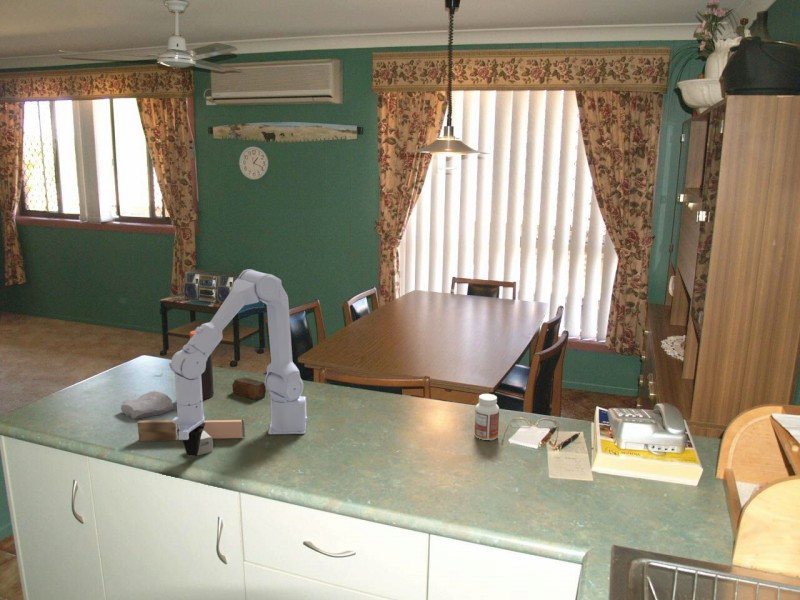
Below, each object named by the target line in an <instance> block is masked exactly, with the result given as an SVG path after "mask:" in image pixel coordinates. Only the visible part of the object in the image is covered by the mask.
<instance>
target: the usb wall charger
mask: <svg viewBox="0 0 800 600" xmlns="http://www.w3.org/2000/svg"><path fill="white" fill-rule="evenodd" d="M213 443H214V441H213V438H212V437H211V436H209V435H208V434H207V433H206V432H205V431H202V435H201V439H200V445H199V451H198V454H197V456H201V455H203V454H204V453H205V454H208V453H211V452H213V450H214V446H213Z"/></svg>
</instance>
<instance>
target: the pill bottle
mask: <svg viewBox="0 0 800 600" xmlns="http://www.w3.org/2000/svg"><path fill="white" fill-rule="evenodd" d="M497 403H498V397H497V395H495V394H491V393H482V394H479V396H478V403H476V406H475V414H474V415H475V416H474V436H475V437H476V438H477V439H478V438H479V440H480V439H482V440H481V441H484V440H490V441H494V440H496V439H498V436H499V427H500V426H499V424H500V407H499V405H498V404H497Z"/></svg>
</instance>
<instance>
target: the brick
mask: <svg viewBox="0 0 800 600" xmlns="http://www.w3.org/2000/svg"><path fill="white" fill-rule="evenodd" d="M231 386H232V387H231V388H232V392H233V393H234V394H236V393H237V395H240V396H242V397H245V396H246V397H245V398H248V397H249V398H248V399H251V398H252V400H254V399H255V400H254V401H259V400H261V399H263V398H265V397H266V393H267V388H266V387H265V381H264V382H263V381H259V380H257V379H252V378H250V377H249V378H248V377H239V378H236V379H234V381H233V383H232V385H231Z"/></svg>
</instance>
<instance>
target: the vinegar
mask: <svg viewBox="0 0 800 600" xmlns="http://www.w3.org/2000/svg"><path fill="white" fill-rule="evenodd" d="M195 330H196V329H194V330H191V331H189V340H190V339H191V338H192V337H193V335H194V334H195V333H196V331H195ZM212 355H213V352H212V353H211V354H210V356H209V357H208V358H207V359H208V360H207V361H206V368H205V371H204V372H203V373H202V374H201V381H202V399H203V400H208V399H210V398H212V397H213V396H214V395H215V394H214V374H213V373H214V371H213V356H212Z"/></svg>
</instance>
